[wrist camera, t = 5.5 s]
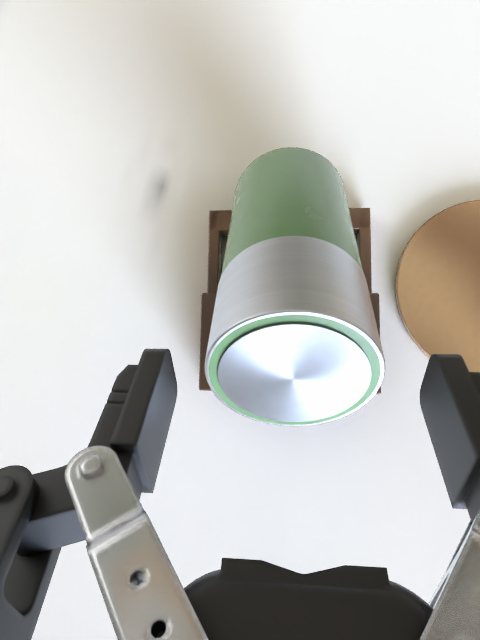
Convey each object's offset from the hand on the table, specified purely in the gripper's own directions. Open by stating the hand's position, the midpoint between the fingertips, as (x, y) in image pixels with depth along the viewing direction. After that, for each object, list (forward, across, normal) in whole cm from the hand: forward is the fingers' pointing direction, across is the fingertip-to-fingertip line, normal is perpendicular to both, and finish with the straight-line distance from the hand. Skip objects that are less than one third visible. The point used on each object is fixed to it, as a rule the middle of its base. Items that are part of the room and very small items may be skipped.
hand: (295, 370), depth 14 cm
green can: (+6, 0, 0) cm, 6 cm away
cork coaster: (+11, -11, +4) cm, 16 cm away
